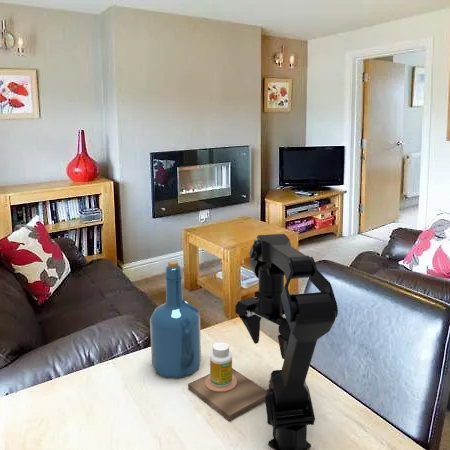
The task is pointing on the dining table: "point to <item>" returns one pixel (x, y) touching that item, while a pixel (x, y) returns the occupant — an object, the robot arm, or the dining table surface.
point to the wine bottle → (175, 330)
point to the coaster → (220, 389)
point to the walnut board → (230, 396)
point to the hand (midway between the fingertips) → (270, 350)
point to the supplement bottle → (221, 365)
